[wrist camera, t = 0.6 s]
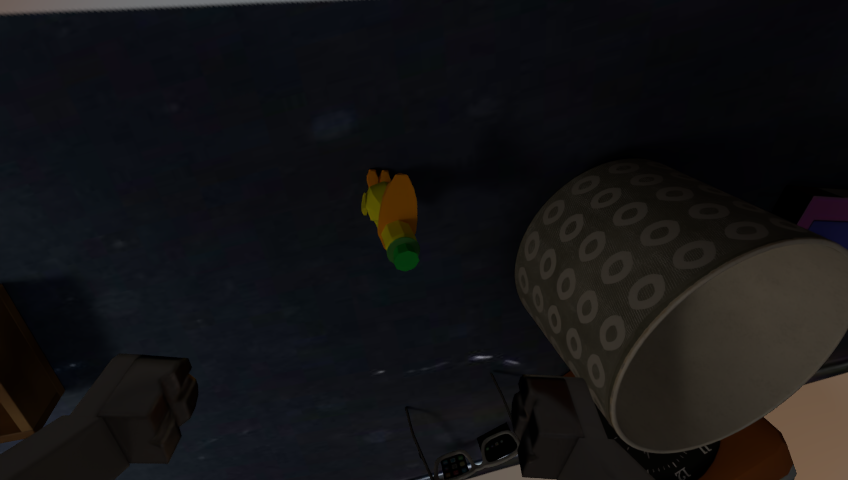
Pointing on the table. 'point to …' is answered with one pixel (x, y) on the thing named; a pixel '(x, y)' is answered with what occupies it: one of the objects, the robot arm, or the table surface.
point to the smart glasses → (490, 446)
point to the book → (816, 211)
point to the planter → (679, 301)
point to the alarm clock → (719, 456)
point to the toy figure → (393, 216)
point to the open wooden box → (23, 377)
